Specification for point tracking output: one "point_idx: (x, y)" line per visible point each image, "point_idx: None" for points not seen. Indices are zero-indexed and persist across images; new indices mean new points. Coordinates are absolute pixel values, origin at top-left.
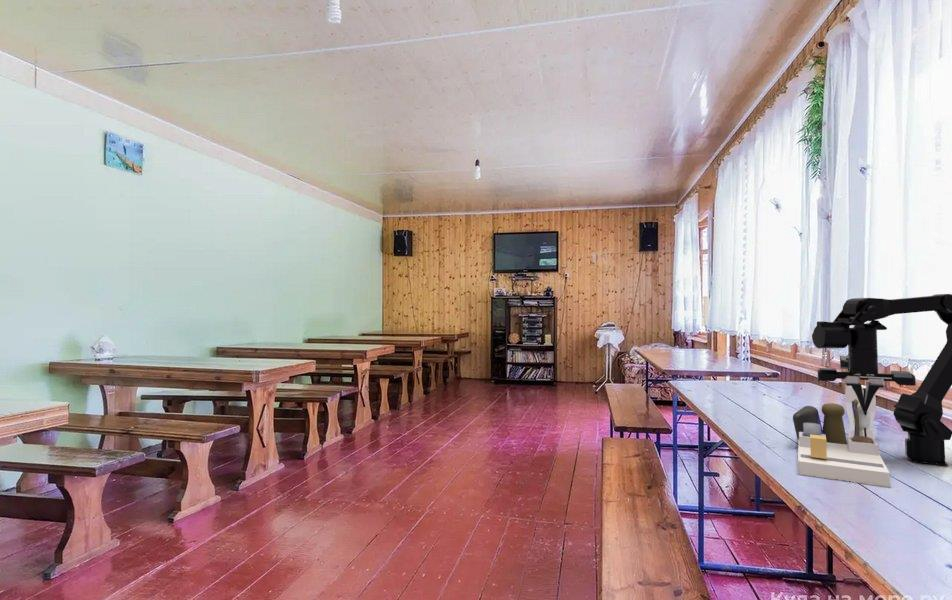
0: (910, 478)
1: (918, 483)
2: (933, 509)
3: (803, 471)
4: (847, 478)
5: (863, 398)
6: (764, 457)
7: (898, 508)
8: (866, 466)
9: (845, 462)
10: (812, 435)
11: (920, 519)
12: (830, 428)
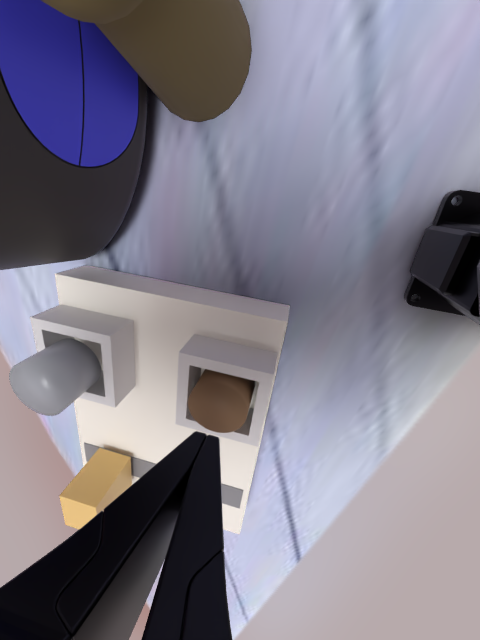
0: (311, 450)
1: (312, 477)
2: (275, 570)
3: None
4: None
5: (145, 600)
6: None
7: (228, 567)
8: None
9: None
10: (66, 505)
11: (243, 591)
12: (138, 71)
